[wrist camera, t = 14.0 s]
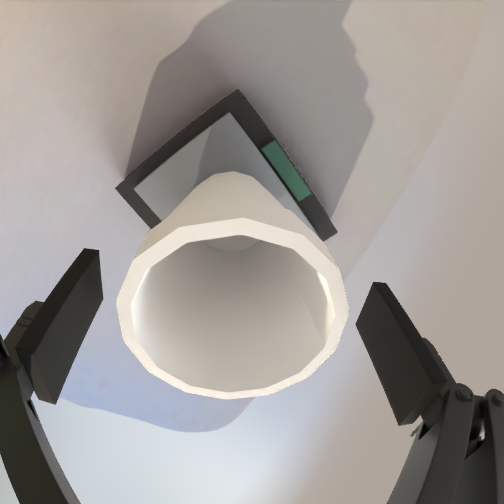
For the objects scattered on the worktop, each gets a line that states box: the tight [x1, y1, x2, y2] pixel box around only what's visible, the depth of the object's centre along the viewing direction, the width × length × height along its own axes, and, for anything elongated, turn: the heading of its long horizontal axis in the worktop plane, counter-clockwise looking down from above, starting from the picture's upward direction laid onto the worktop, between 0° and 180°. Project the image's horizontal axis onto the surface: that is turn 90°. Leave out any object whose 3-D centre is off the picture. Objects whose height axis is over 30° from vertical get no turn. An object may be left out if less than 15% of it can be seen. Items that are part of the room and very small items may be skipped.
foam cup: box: [116, 171, 349, 400], centre depth 18 cm, size 10×9×13 cm
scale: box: [115, 89, 337, 242], centre depth 25 cm, size 14×12×3 cm
